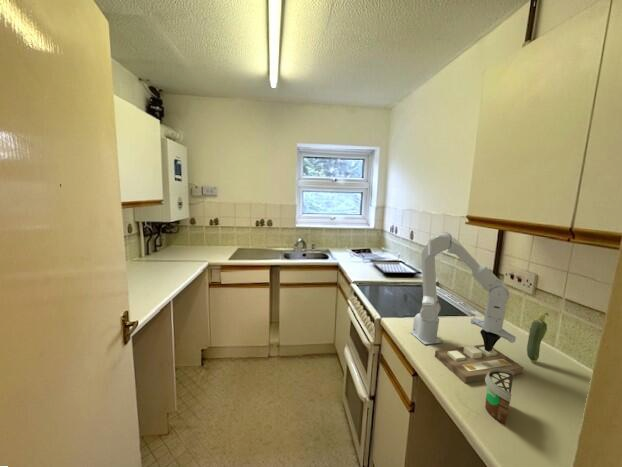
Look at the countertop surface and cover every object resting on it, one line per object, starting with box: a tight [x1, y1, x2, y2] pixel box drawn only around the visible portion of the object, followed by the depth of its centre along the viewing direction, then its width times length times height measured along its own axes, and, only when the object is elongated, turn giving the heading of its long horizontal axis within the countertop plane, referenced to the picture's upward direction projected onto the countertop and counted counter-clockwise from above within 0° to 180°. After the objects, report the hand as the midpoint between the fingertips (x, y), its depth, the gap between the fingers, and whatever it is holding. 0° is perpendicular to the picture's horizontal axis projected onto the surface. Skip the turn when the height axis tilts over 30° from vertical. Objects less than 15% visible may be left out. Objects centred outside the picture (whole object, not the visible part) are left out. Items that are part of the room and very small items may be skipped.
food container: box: [484, 369, 515, 426], centre depth 76 cm, size 12×6×10 cm, turn 141°
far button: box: [479, 347, 497, 357], centre depth 100 cm, size 4×4×2 cm
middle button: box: [463, 345, 482, 359], centre depth 98 cm, size 4×4×2 cm
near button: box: [447, 350, 466, 361], centre depth 96 cm, size 4×4×2 cm
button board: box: [434, 344, 525, 384], centre depth 96 cm, size 14×24×3 cm, turn 105°
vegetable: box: [526, 311, 549, 364], centre depth 98 cm, size 4×4×20 cm
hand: (488, 350), depth 100 cm, fingers closed, pressing on far button
